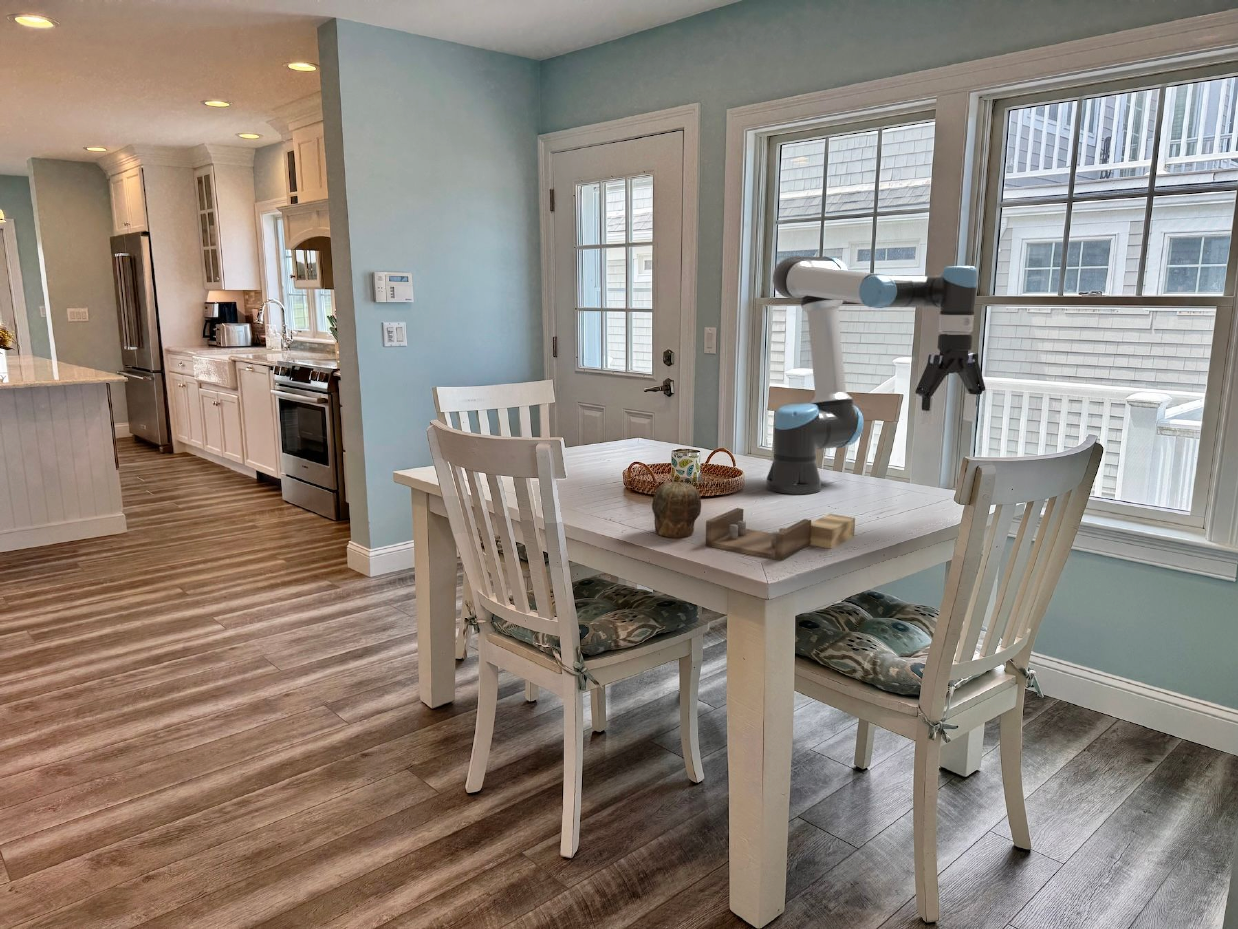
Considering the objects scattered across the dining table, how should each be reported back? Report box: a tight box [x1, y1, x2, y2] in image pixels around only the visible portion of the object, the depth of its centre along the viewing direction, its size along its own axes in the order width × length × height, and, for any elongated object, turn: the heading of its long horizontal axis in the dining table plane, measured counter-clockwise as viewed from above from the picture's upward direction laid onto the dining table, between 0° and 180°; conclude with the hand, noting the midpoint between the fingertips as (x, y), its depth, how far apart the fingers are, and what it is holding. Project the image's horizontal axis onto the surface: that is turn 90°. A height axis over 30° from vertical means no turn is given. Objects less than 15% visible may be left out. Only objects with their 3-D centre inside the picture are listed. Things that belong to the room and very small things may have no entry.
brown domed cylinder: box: [651, 481, 702, 539], centre depth 188 cm, size 11×11×12 cm
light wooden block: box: [809, 513, 856, 549], centre depth 184 cm, size 12×6×4 cm, turn 141°
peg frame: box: [705, 507, 812, 562], centre depth 180 cm, size 18×14×6 cm
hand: (948, 422), depth 200 cm, fingers open, 13 cm apart
